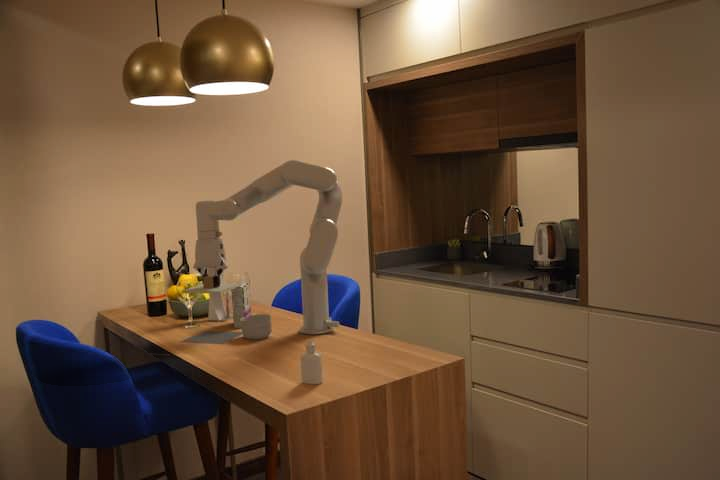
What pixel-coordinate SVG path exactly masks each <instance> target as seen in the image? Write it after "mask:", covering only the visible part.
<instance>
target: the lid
mask: <svg viewBox="0 0 720 480" xmlns="http://www.w3.org/2000/svg"><path fill="white" fill-rule="evenodd" d="M213 276H215V275H209V276H206V277H203V279H202V284H198V285H196V286H192V287H190V288H186V289H182V290H181V293H182V294H209V293H216V294H220V293H222V294H223V293H225V292H227V291H228V292H229V291H231V289H234V288H237V287H240V286H241V284H237V283H223V284H220V286H219V287H214V280H213ZM203 284H204V286H203Z"/></svg>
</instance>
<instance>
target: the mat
mask: <svg viewBox="0 0 720 480" xmlns="http://www.w3.org/2000/svg"><path fill="white" fill-rule="evenodd" d="M242 335H243V333H242V331H225V330H223V331H221V330H220V331H219V330H204V331H202V332H201V331H200V332H199V333H196V334H195V335H192V336H190V337H188V338H185V339H183V340H181V341H180V343H192V344H210V345H212V344H213V345H214V344H215V345H216V344H217V345H224V344H226V343H228V342H229V341H232V340H233V339H236V338H238V337H240V336H242Z"/></svg>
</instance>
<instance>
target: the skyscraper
mask: <svg viewBox="0 0 720 480" xmlns="http://www.w3.org/2000/svg"><path fill="white" fill-rule="evenodd" d="M221 267H222V266H220V268H221ZM208 275H214V270H213V268H208ZM224 275H225V274H224V271H223V272H222V273H221V275H220V284H224V282H225V281H224V280H225V277H224ZM208 296H209V297H208V298H209V300H208V316H207V317H208V318H207V320H208V322H226V321H228V320H230V319H232V318H233V316H232V314H231V309H232V308H231V306H230V305H231V304H230V302H231V301H230V299H231V298H230V297H229V290H228V291H226V298H225V302H226V309H225V304H224V298H223V293H220V294H216V293H208ZM225 310H226V311H225Z"/></svg>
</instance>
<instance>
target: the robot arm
mask: <svg viewBox="0 0 720 480" xmlns="http://www.w3.org/2000/svg"><path fill="white" fill-rule="evenodd" d="M293 186H298V187H301V188H305V189H311V190H314V191H315V190H316V191H317V192H318V202H317V205H316V209H315V211H314V212H315V213H314V216H313V219H312V222H311V224H310V227H309V238H308V242H307V245H306V247H305V248H303V249H302V251H301V252H300V255H299V267H300V269H299V270H300V279H301V302H302V304H301V305H302V324H303V325H302V326H300V327H299V329H298V330H299V333H301V334H304V335H305V334H306V335H322V334H327V333H331V332H333V331H334V328H340V322H339V321H338V320H337V321H336V320H332V317H331V316H330V314H329V293H328V292H329V290H328V287H329V286H328V274H327V273H328V272H327V271H328V268H329V265H330V263H331V260H332V257H333V255H334V251H335V247H336V246H337V245H336V244H337V240H338V236H339V228H338V226H337V223H338V220H339V215H340V212H341V208H342V204H343V203H342V202H343V192H342V189H341V185H340V184H339V181H338V179H337V175H336V172H335V171H334V170H333V169H331V168H329V167H327V166H322V165H317V164H312V163H308V162H303V161H299V160H296V159H291V160H288V161H286V162H283V163H282V164H280V165H279V166H277V167H275V168H274V169H271V170H270V171H268V172H267V173H266V174H263V175H262V176H260V177H258V178H256V179H255V180H254V181H252V182H251V183H250V184H248V185H247V186H246V187H244V188H243V189H240V190H239V191H238V192H235V193H234V194H233V195H230V196H229V197H226V198H225V199H223V200H216V201H215V200H200V201H196V203H195V216H196V231H197V232H196V234H197V239H196V241H195V248H194V250H195V251H194V260H195V261H194V264H193V269H194V270H195V271H197V272H198V273H199V274H200V276H201V278H202V280H203V277H206V276H209V275H208V268H213V270H214V275H215V276H213V280H214V287H219V286H220V275H221V273H222V272H223V273H224V272H225V270H227V269H228V268H229V265H228V263H227V262H226V261H227V259H226V250H225V246H224V242H223V239H222V238H220V237H222V236H223V232H222V231H220V227H219V226H220V225H219V223H220V222H219V221H226V222H228V221H234V220H236V219H237V218H238V216H240V215H242V214H243V213H246V212H248V210H250V209H252V208H254V207H256V206H258V205H260V204H264V203H266V202H267V201H269V200H271V199H273V198H274V197H276V196H279V194H281V193H283V192H285V191H287V190H288V189H290V188H292V187H293ZM220 266H222V267H221V268H220ZM202 284H203V283H202ZM203 286H204V284H203Z"/></svg>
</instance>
